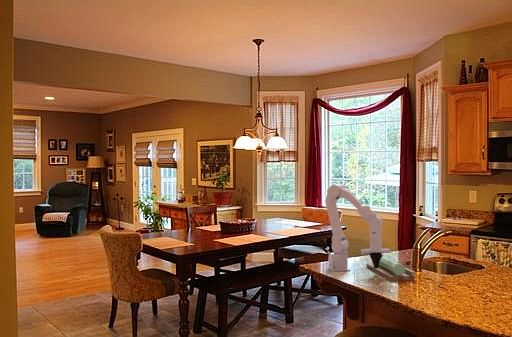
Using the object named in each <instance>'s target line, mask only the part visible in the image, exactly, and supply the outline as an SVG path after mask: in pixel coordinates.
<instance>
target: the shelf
mask: <svg viewBox="0 0 512 337" xmlns="http://www.w3.org/2000/svg"><path fill="white" fill-rule="evenodd" d="M404 267H405V266H404ZM366 268H367V269H368V270H370V271H371V272H373V273H375V274H377V275H379V276H381V277H382V278H384V279H385V280H388V281H389V282H398V281H399V282H400V281H401V282H403V281H404V282H405V281H406V282H407V281H415V271H414V270H412V269H410V268H407V267H405V272H404V273H403V275H402V276H397V275H395V274H394V273H393V272H391V271H389V270H387V269H385V268H383V267H381V266H379V265H378V268H374V266H373V262H372V263H366Z"/></svg>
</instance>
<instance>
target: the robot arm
mask: <svg viewBox="0 0 512 337" xmlns="http://www.w3.org/2000/svg"><path fill="white" fill-rule="evenodd" d="M326 191H327V193H326V197H325V206H326V211H327V214H328V215H327V216H328V220H329V224H330V228H331V232H332V236H331V249H332V252H329V253H328V267H327V268H328V269H329V270H330V271H332V272H349V271H351V269H350V268H349V266H348V265H349V264H348V253H349V252H348V249H349V247H350V242H349V240H348V239H347V237H346V235H345V233H344V231H343V227H342V224H341V223H342V222H341V219H340V215H339V210H338V205H337V203H338V201H339V200H340V199H346V200H347V201H348V202H349V203H350V204H351V205H352V206H354V207H355V208H356V209H357V213H358V215H359V216H360V217H362V218H363V220H364V221H366V222H367V226H369V248H366V249H365V248H364V249H360V253H361V255H365V254H366V255H369V257H370V259H371V262H372V263H373V266H374V268H378V265H379V262H380V260H381V258H382V256H383V255H384V254H391V249H390V248H382V244H383V242H382V241H383V238H382V236H383V234H382V232H383V231H382V225H384V220H383V218H382V217H381V216H380V215H378V214H377V213H376V212H374V211H373V210H372V209H371V206H370V205H367V204H362V203H361V202H360V200H359V199H358V198H357V197H356V196H355V195H354V194H353V193H352V192H351V191H350V189H349V188H347V187H346V186H345V185H344V184H341V183H339V184H331V185H330V186H329V188H328V189H327V190H326ZM383 257H384V256H383Z"/></svg>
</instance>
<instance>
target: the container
mask: <svg viewBox="0 0 512 337" xmlns="http://www.w3.org/2000/svg"><path fill="white" fill-rule="evenodd" d="M379 266H381V267H383V268H385V269H387V270H389V271H391V272H393V273H394V274H395V275H397V276H402V275H403V273H404V272H405V266H404V265H403V264H402V263H397V262H396V261H394V260H391V259H389V258H386V257H385V256H382V258H381V260H380V262H379Z"/></svg>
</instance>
